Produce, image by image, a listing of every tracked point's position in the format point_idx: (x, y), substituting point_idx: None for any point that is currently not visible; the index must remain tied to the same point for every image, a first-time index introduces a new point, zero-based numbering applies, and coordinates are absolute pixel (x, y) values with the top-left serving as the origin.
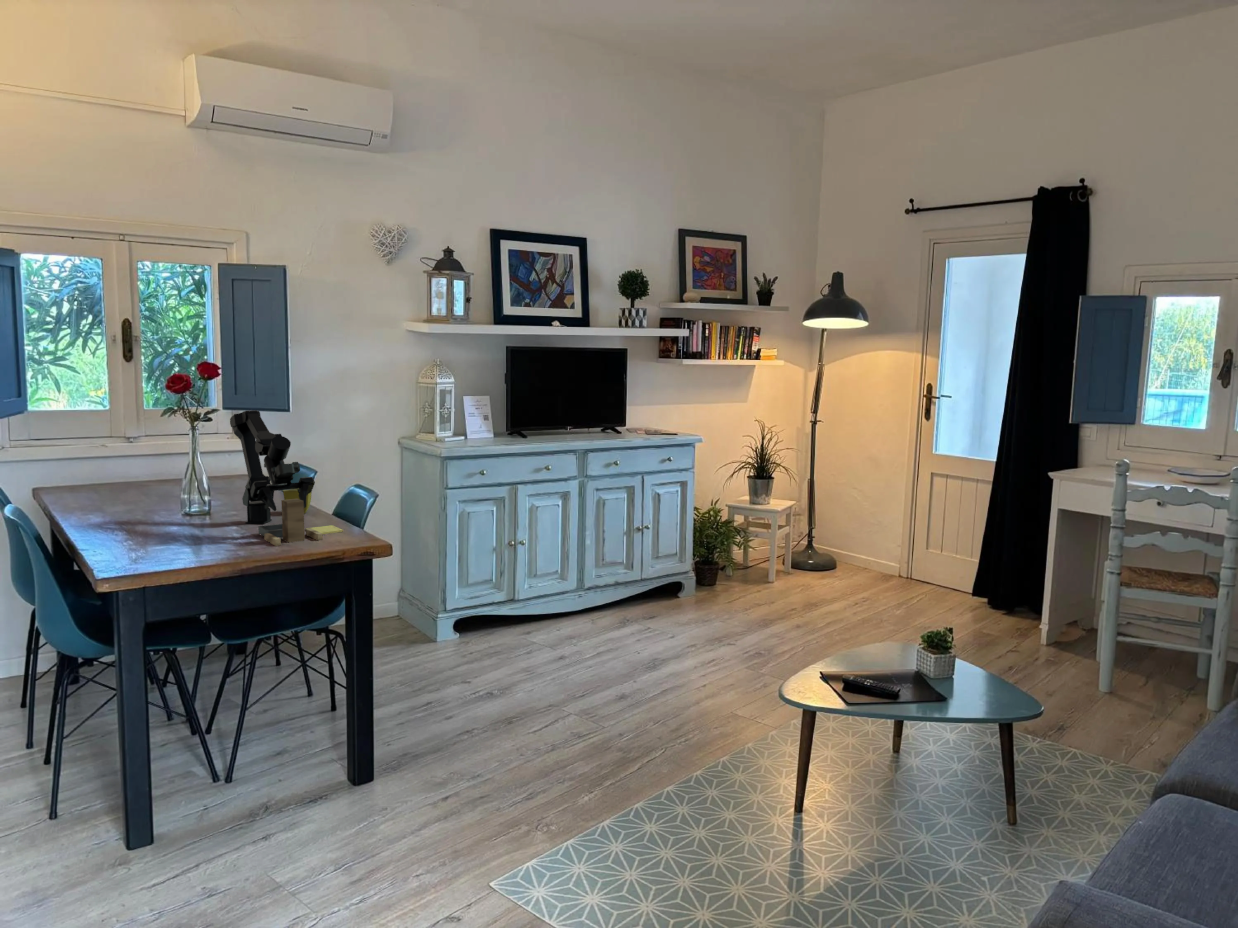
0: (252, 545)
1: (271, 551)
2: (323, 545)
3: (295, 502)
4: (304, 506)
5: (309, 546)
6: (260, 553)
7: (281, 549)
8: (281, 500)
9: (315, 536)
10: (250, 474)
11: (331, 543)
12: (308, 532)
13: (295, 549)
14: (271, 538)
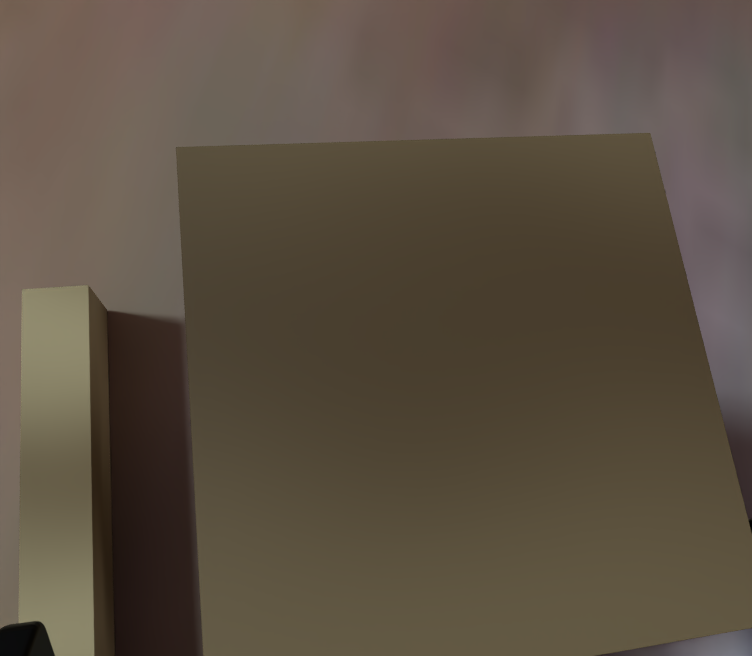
0: (749, 417)
1: (613, 101)
2: (143, 74)
3: (421, 150)
4: (45, 642)
5: (275, 105)
6: (698, 83)
7: (527, 125)
8: None
9: (100, 374)
10: None
11: (37, 111)
12: (103, 624)
13: (419, 64)
14: None
